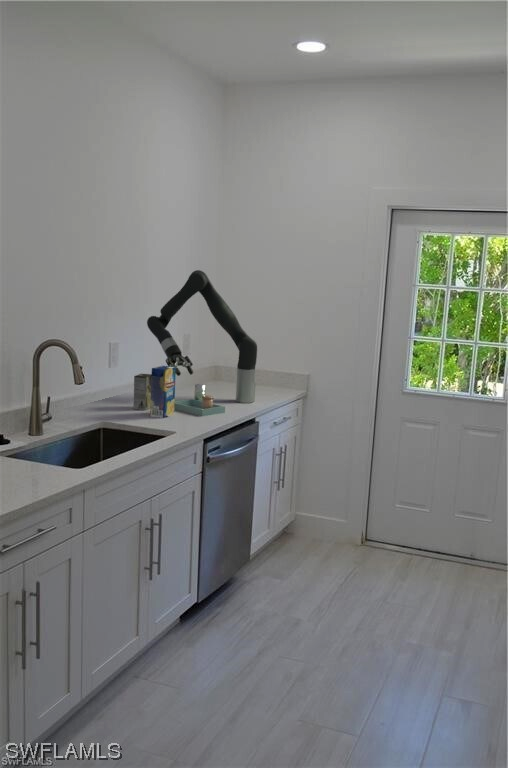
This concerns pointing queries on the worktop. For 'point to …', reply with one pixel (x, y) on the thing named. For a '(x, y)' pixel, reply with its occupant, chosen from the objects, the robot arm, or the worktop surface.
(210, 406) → the pestle
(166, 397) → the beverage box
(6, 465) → the worktop surface
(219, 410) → the tray
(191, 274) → the robot arm
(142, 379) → the coffee box
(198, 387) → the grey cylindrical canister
